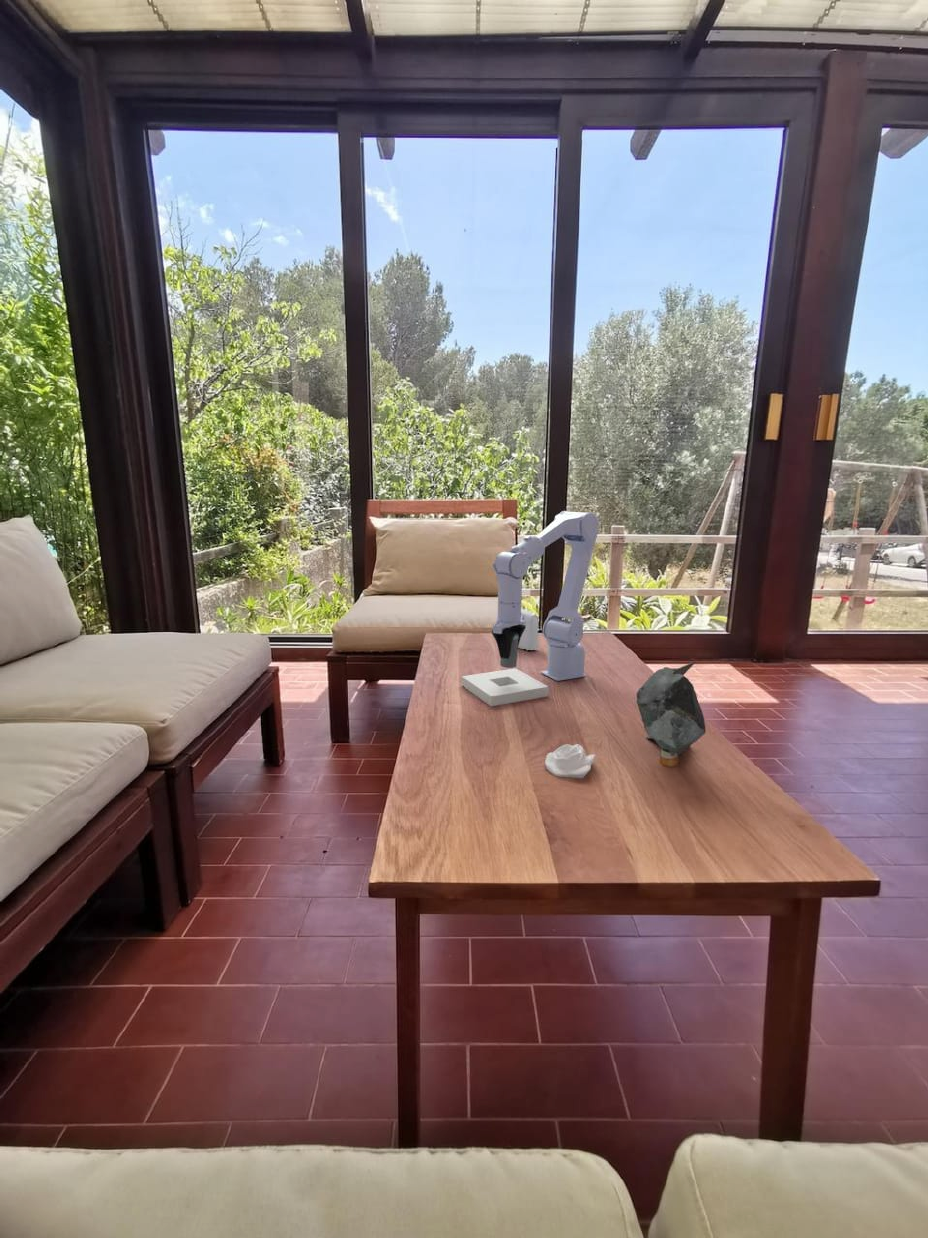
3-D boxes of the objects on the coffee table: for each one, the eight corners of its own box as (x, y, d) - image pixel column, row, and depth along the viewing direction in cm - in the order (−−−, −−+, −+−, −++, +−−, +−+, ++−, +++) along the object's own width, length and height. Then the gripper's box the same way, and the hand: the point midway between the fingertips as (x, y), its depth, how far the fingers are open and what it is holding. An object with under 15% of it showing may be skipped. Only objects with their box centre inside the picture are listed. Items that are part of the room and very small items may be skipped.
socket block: (515, 677, 160) (515, 668, 160) (548, 696, 146) (548, 686, 146) (461, 685, 153) (461, 676, 153) (490, 706, 139) (491, 696, 139)
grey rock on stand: (613, 757, 114) (619, 668, 110) (651, 734, 125) (658, 651, 121) (685, 783, 104) (694, 686, 100) (720, 755, 115) (729, 666, 111)
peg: (511, 661, 150) (513, 631, 148) (519, 666, 147) (521, 635, 145) (497, 663, 148) (499, 632, 146) (505, 668, 145) (507, 637, 143)
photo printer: (506, 645, 191) (507, 607, 188) (516, 643, 194) (517, 606, 191) (529, 652, 183) (531, 613, 180) (539, 650, 186) (540, 611, 183)
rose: (609, 753, 106) (562, 762, 103) (608, 776, 107) (561, 785, 104) (580, 732, 115) (535, 739, 112) (579, 753, 116) (535, 760, 113)
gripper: (513, 609, 136) (511, 665, 139) (536, 598, 148) (534, 650, 151) (485, 605, 139) (484, 661, 142) (510, 595, 152) (508, 646, 155)
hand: (508, 655), depth 147 cm, fingers closed on peg, 4 cm apart
